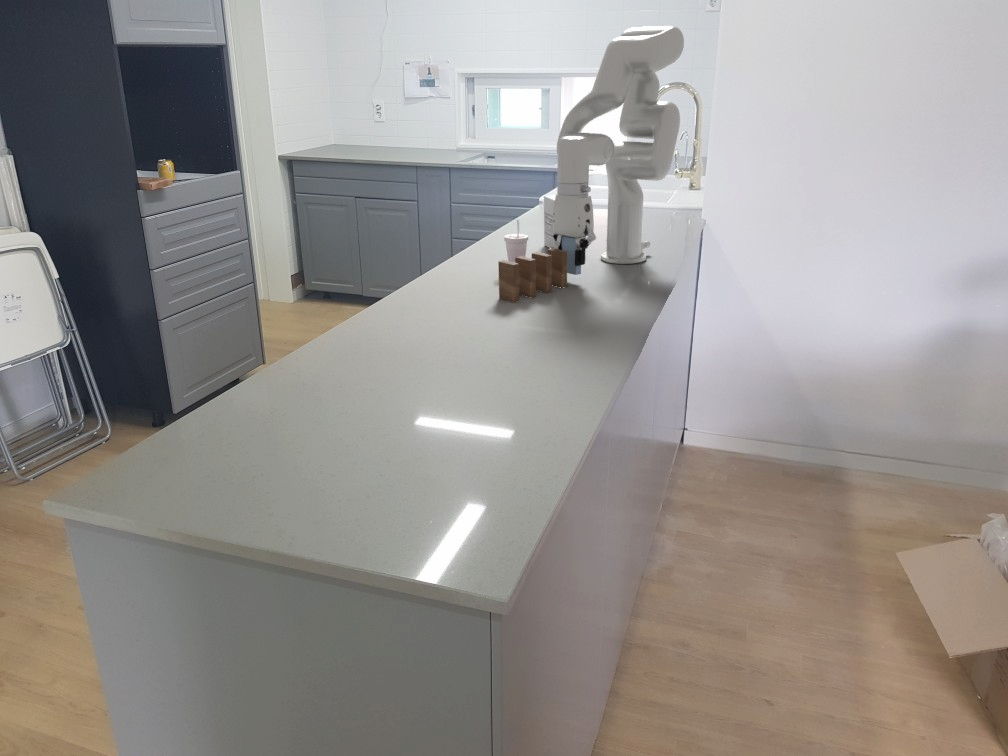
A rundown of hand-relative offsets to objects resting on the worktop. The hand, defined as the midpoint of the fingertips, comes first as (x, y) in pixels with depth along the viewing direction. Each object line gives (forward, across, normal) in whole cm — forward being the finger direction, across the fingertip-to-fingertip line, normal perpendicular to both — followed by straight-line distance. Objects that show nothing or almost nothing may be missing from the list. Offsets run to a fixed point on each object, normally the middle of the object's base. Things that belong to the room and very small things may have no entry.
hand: (571, 262), depth 196 cm
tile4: (+5, 0, +16) cm, 17 cm away
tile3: (+5, 0, +11) cm, 12 cm away
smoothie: (+5, +17, +3) cm, 18 cm away
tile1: (+3, 0, 0) cm, 3 cm away
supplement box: (+5, +28, -27) cm, 40 cm away
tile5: (+5, 0, +22) cm, 22 cm away
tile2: (+5, 0, +5) cm, 7 cm away
